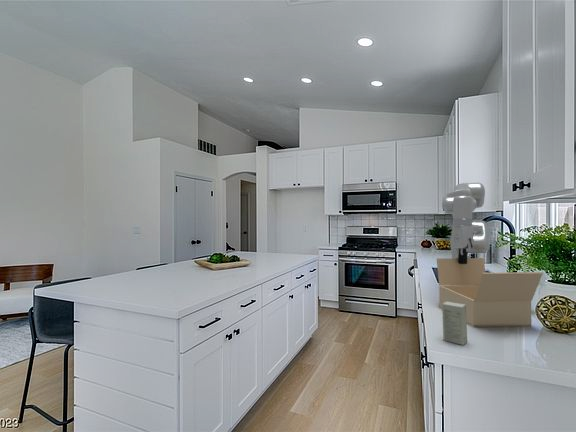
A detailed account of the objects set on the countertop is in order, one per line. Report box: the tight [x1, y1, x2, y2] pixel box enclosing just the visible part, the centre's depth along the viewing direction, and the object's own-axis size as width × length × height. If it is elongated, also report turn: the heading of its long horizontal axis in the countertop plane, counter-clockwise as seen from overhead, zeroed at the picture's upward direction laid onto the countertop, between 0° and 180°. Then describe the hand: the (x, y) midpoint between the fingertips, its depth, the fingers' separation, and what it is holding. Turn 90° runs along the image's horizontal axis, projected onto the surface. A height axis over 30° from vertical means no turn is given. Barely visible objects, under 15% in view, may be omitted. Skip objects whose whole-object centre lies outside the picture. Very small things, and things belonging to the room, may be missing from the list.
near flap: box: [436, 257, 486, 286], centre depth 138 cm, size 12×22×1 cm
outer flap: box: [474, 271, 544, 302], centre depth 110 cm, size 12×22×1 cm
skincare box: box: [442, 302, 468, 346], centre depth 100 cm, size 6×4×12 cm
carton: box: [438, 285, 532, 328], centre depth 124 cm, size 24×22×10 cm
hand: (462, 263), depth 137 cm, fingers closed
